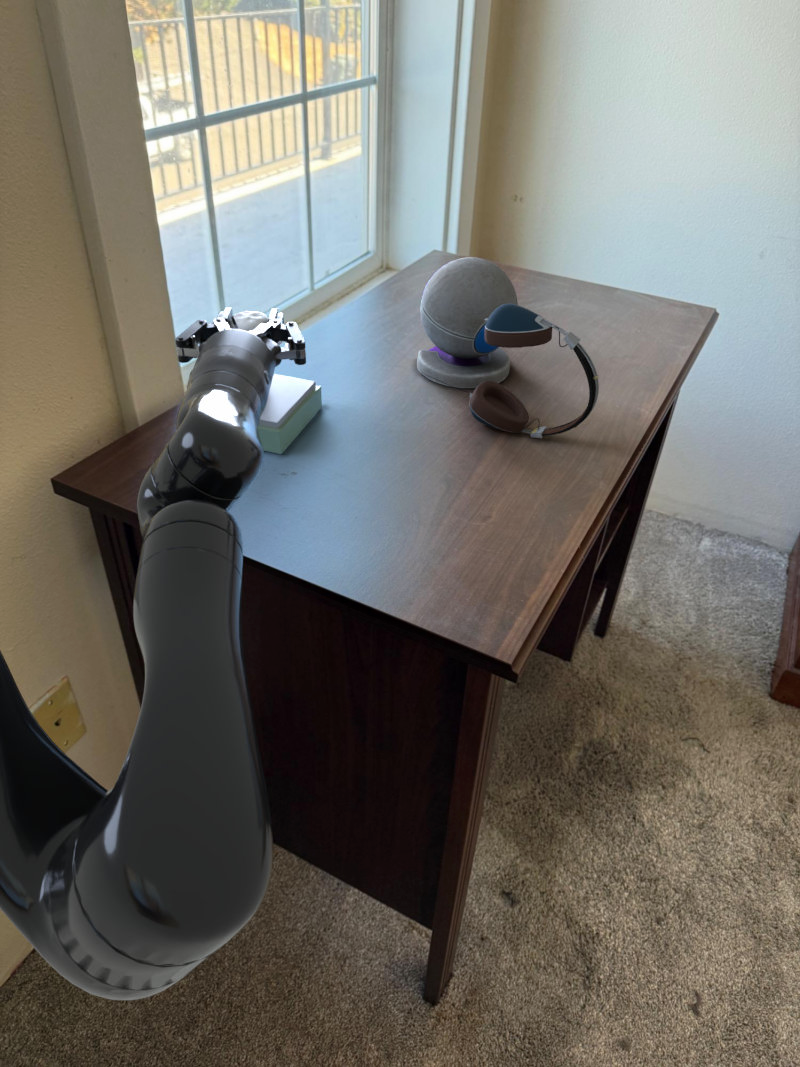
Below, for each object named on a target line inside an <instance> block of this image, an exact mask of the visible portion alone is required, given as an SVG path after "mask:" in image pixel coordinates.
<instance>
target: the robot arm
mask: <svg viewBox="0 0 800 1067" xmlns="http://www.w3.org/2000/svg"><path fill="white" fill-rule="evenodd" d="M233 311H234V310H233V307H228V306H227V307H225V308H224V310H223V311H219V312H218V314H217V316H216V318H213V320H212V321H213V322H210V323H208V321H207V320H206V319H198V320H196V321H195V322H193V323H192V324H191V325H190V326H189V327H187V328H186V329H185V330H184V331H183V332H181V333H180V334H179V335H177V337H175V338H174V341H175V347H176V353H177V360H178V362H179V363H181V364H187V363H190V362H191V361H192V360H193V359H196V361H195V363H194V365H193V368H192V369H191V370H190V372H189V375H188V380H187V386H186V391H185V394H184V396H183V399H182V400H181V403H180V405H179V409H178V411H177V415H176V431H175V432H174V434H173V435H172V436H171V438H170V440H169V441H168V442H167V444H166V445H165V446H164V448H163V449H162V450H161V452H160V453H159V454H158V456H157V457H156V458H155V460H154V461H153V462H152V464H151V465H150V467H148V469H147V471H146V473H145V475H144V476H143V478H142V480H141V483H140V486H139V488H138V492H137V496H136V513H137V520H138V524H139V533H140V535H141V538H142V542H141V547H140V553H139V558H138V559H139V560H138V565H137V570H136V571H137V572H136V577H135V583H134V584H135V585H134V590H133V598H132V599H133V600H132V617H133V618H132V619H133V628H134V632H135V635H136V640H137V643H138V645H139V649H140V652H141V654H142V658H143V664H144V687H143V695H142V701H141V706H140V710H139V714H138V717H137V721H136V725H135V728H134V731H133V734H132V737H131V740H130V743H129V746H128V749H127V751H126V755H125V758H124V760H123V763H122V766H121V769H120V771H119V774H118V776H117V779H116V781H115V783H114V785H113V786H112V787H111V788H110V789H106V788H105V786H103V785H102V784H100V783H99V782H98V781H97V780H96V779H94V778H93V777H92V776H91V775H90V774H89V773H88V772H86V771H85V770H84V769H83V768H82V767H81V766H79V765H78V764H77V763H76V762H75V761H74V760H73V759H72V758H70V757H69V756H68V755H67V754H66V753H65V751H63V750H62V749H61V748H60V747H59V746H58V745H57V744H56V743H55V742H54V741H53V740H52V738H50V736H49V735H48V733H47V732H46V731H45V730H44V729H43V727H42V726H41V725H40V723H39V722H38V720H37V719H36V717H35V716H34V714H33V713H32V711H31V710H30V708H29V706H28V704H27V703H26V701H25V699H24V697H23V695H22V693H21V691H20V689H19V687H18V685H17V682H16V680H15V678H14V676H13V675H12V672H11V670H10V667H9V665H8V662H7V661H6V659H5V656H4V655H3V653H2V650H1V649H0V911H1V912H2V913H3V914H4V915H5V916H6V918H7V919H8V920H9V921H10V922H11V923H12V925H13V926H14V927H15V928H16V930H18V931H19V933H20V934H21V935H22V936H23V937H24V938H25V940H27V942H28V943H29V944H30V945H31V946H32V948H33V949H34V950H35V951H36V952H37V953H38V954H39V955H40V957H42V959H44V960H45V962H46V963H48V965H49V966H50V967H52V969H53V970H55V971H56V972H57V973H58V974H59V975H60V976H61V977H63V978H64V979H65V980H67V981H68V982H69V983H70V984H72V985H73V986H75V987H77V988H79V989H80V990H83V991H84V992H86V993H88V994H89V995H90V994H91V995H92V996H96V997H100V998H103V999H107V1000H111V1001H136V1000H141V999H145V998H146V999H147V998H149V997H152V996H155V995H157V994H159V993H162V992H163V991H164V992H165V991H166V990H167V989H169V988H171V987H172V986H174V985H176V983H179V981H181V980H182V979H183V978H185V977H186V976H188V975H189V974H190V973H191V972H192V971H193V970H194V969H196V968H198V966H200V965H201V964H202V963H203V962H205V961H206V960H207V959H209V957H211V956H212V955H214V954H215V953H216V952H217V951H218V950H220V949H221V948H223V947H224V946H225V945H226V944H227V943H228V942H230V941H231V940H232V939H233V938H234V937H235V936H237V934H239V933H240V932H241V931H242V930H243V929H244V928H245V927H246V926H247V924H248V923H249V922H250V921H251V920H252V918H253V916H255V914H256V913H257V911H258V910H259V909H260V907H261V905H262V904H263V902H264V899H265V897H266V895H267V893H268V890H269V887H270V884H271V879H272V874H273V868H274V835H273V824H272V815H271V809H270V802H269V796H268V789H267V784H266V778H265V775H264V768H263V763H262V762H263V761H262V758H261V752H260V747H259V741H258V735H257V730H256V723H255V717H254V711H253V705H252V699H251V693H250V687H249V681H248V675H247V668H246V660H245V653H244V642H243V630H242V629H243V628H242V627H243V626H242V602H243V600H242V599H243V571H244V570H243V566H244V543H243V536H242V531H241V528H240V526H239V523H238V521H237V520H236V518H235V517H234V516H233V514H232V513H231V512H230V511H231V510H232V508H234V507H235V505H236V504H237V503H238V501H239V500H240V499H241V498H242V497H243V495H244V494H245V493H247V491H248V490H249V488H250V487H251V486H252V485H253V483H254V482H255V480H256V478H257V477H258V475H259V473H260V470H261V469H262V465H263V462H264V458H265V457H264V456H265V453H264V452H265V451H263V446H262V443H261V439H260V435H259V431H258V426H259V422H260V418H261V415H262V414H263V412H264V409H265V407H266V404H267V400H268V396H269V392H270V387H271V383H272V379H273V374H275V370H276V367H278V366H280V365H281V363H282V361H283V360H288V361H293V362H294V364H295V365H296V366H304V365H306V364H307V349H306V339H305V338H304V335H303V333H302V332H301V330H300V328H299V325H298V324H297V322H295V321H288V322H285V320H284V319H285V318H284V313H283V312H279V308H272V307H271V309H270V313H269V316H268V318H269V319H268V320H269V322H268V323H267V324H264V323H261V324H260V325H259V326H258V327H257V328H255V329H254V330H253V331H249V332H247V331H244V330H240V329H231V328H230V321H231V317H230V315H232V316H234V313H233ZM283 342H285V344H284V346H282V347H281V346H280V345H281V344H282V343H283Z"/></svg>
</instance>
